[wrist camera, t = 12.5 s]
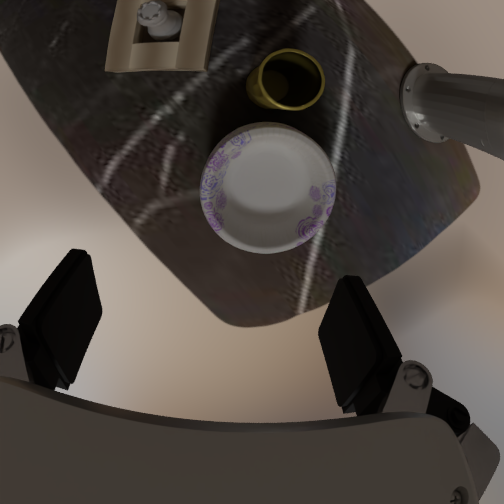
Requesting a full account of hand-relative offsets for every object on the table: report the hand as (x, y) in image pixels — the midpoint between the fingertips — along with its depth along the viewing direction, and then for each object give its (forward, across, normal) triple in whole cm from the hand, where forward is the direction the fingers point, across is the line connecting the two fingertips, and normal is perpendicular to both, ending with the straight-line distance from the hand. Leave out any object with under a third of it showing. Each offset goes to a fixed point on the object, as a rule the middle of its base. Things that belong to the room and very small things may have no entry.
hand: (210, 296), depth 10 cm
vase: (+28, -4, -9) cm, 30 cm away
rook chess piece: (+28, +10, -16) cm, 33 cm away
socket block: (+28, +10, -16) cm, 34 cm away
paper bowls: (+29, -5, +3) cm, 29 cm away
